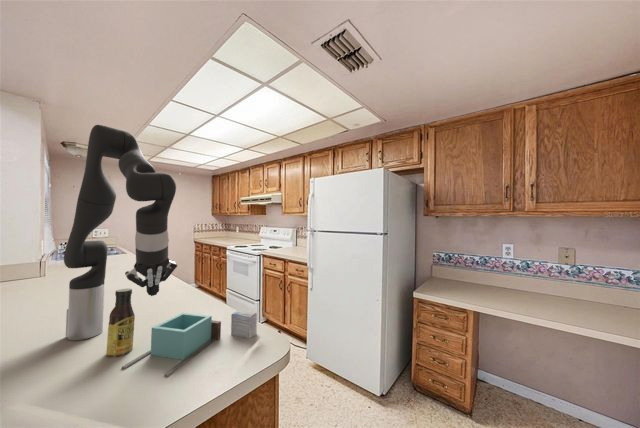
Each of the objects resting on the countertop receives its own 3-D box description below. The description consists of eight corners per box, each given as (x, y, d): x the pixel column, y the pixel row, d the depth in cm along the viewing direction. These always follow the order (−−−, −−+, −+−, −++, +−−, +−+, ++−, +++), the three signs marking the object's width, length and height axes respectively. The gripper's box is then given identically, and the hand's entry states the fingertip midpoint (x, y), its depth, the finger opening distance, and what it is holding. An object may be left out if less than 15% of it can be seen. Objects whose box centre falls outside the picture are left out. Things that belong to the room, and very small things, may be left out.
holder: (150, 354, 74) (151, 327, 75) (181, 336, 87) (182, 312, 87) (183, 359, 72) (184, 332, 72) (211, 339, 84) (211, 316, 84)
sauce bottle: (117, 363, 72) (120, 294, 73) (100, 360, 73) (103, 292, 74) (138, 351, 78) (140, 288, 79) (122, 349, 80) (124, 286, 80)
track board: (118, 373, 67) (119, 347, 68) (180, 336, 89) (180, 316, 89) (169, 382, 64) (169, 355, 64) (220, 342, 86) (220, 321, 86)
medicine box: (256, 336, 90) (257, 312, 90) (249, 342, 86) (250, 316, 86) (238, 333, 93) (239, 309, 93) (230, 338, 88) (231, 313, 89)
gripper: (173, 233, 76) (172, 280, 82) (118, 242, 66) (121, 294, 72) (183, 244, 72) (181, 293, 78) (126, 255, 62) (129, 310, 68)
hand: (152, 293), depth 75 cm, fingers closed
